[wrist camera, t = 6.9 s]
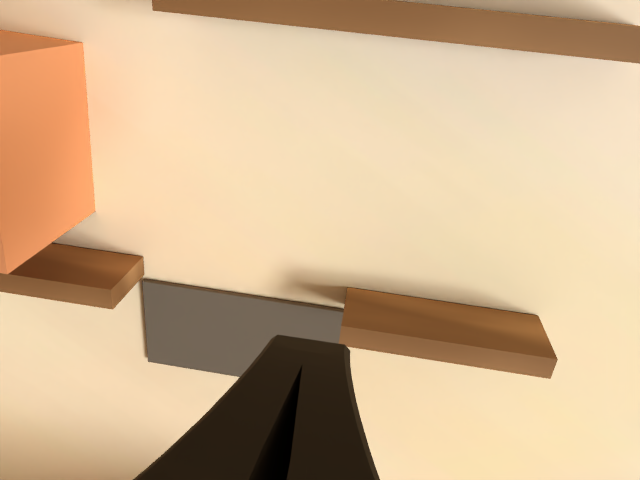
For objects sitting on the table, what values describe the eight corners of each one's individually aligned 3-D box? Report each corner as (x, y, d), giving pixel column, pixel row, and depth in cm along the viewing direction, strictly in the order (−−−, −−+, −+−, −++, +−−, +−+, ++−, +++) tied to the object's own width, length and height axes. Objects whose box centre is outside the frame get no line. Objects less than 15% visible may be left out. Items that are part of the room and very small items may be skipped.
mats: (333, 389, 21) (333, 392, 21) (19, 336, 22) (16, 339, 22) (410, -183, 13) (410, -185, 13) (-97, -220, 14) (-104, -223, 14)
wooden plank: (532, 333, 19) (550, 378, 17) (-86, 239, 21) (-143, 268, 19) (636, 25, 14) (680, 31, 12) (-171, -58, 16) (-262, -67, 14)
